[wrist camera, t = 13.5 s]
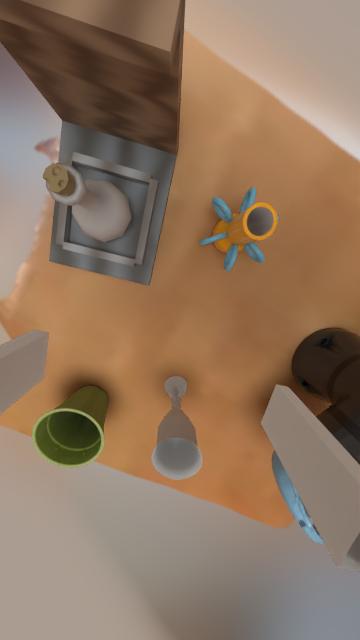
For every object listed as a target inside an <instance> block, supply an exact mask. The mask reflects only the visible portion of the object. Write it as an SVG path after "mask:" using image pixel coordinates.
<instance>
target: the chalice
mask: <svg viewBox="0 0 360 640" xmlns="http://www.w3.org/2000/svg"><path fill="white" fill-rule="evenodd" d="M187 387H188V386H187V382H186V381H185V379H183V378H182V377H180V376H172V377H170V378H168V379H167V380H166V382H165V384H164V389H165V391H166V393H167V394H168V395H169V396H170V397H171V398H172V403H173V404H172V408H173V409H172V410H171V411H169V413H168V414H167V415H166V416H165V417H164V418H163V420H162V422H161V423H160V425H159V427H158V437H157V446H156V447H155V449H154V451H153V453H152V462H153V466H154V467H155V468H156V470H157V471H158V472H159V473H160V474H162V475H163V476H165V477H168V478H170V479H186V478H188V477H191V476H193V475H194V474H195V473H197V472H198V471H199V469H200V467H201V466H202V460H203V458H202V453H201V451H200V450H199V448H198V447H197V440H196V432H195V428H194V426H193V424H192V423H191V421H190V419H189V418H188V416H187V415H186V414H185V413H184V412H183V411H182V410H181V409H180V407H181V406H180V404H179V403H180V401H181V400H180V398H181V397H182V396H183V395H184V393H185V392H186V390H187Z"/></svg>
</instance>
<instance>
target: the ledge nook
mask: <svg viewBox="0 0 360 640" xmlns="http://www.w3.org/2000/svg"><path fill="white" fill-rule="evenodd" d="M184 13H185V0H0V42H1V43H2V44H3V46H4V47H5V48H6V49H7V51H8V52H9V53H10V55H11V56H12V57H13V58H14V60H15V61H16V62H17V63H18V65H19V66H20V67H21V69H22V70H23V71H24V72H25V74H26V75H27V76H28V77H29V79H30V80H31V81H32V83H33V84H34V85H35V86H36V88H37V89H38V90H39V91H40V93H41V94H42V95H43V96H44V98H45V99H46V100H47V101H48V103H49V104H50V105H51V107H52V108H53V109H54V110H55V112H56V113H57V114H58V116H59V117H60V118H61V119H62V131H61V142H60V152H59V163H63V164H70V165H71V166H72V167H74V168H75V169H76V170H77V171H78V172H79V173H80V174H81V175H82V177H83V179H84V181H86V180H87V179H97V180H108V181H112V182H113V183H114V184H115V185H116V186H117V187H118V188H119V189H120V190H121V191H122V192H123V193H124V194H125V195H126V196H127V197H128V201H129V207H130V212H131V218H132V219H131V221H130V223H129V225H128V227H127V229H126V230H125V232H124V234H123V236H121V237H118V238H115V239H112V240H110V241H107V242H102V241H100V240H98V239H95V238H93V237H90V236H88V235H86V234H85V233H84V232H83V231H82V229H81V227H80V226H79V224H78V222H77V221H76V219H75V217H74V216H73V214H72V206H70V205H66V204H63V203H61V202H59V201H56V200H55V206H54V216H53V227H52V238H51V248H50V259H49V261H50V262H55V263H59V264H63V265H67V266H71V267H75V268H79V269H83V270H87V271H92V272H96V273H100V274H104V275H108V276H112V277H116V278H120V279H124V280H129V281H133V282H137V283H141V284H145V285H149V284H150V280H151V275H152V270H153V265H154V261H155V256H156V251H157V246H158V242H159V237H160V232H161V228H162V223H163V218H164V213H165V209H166V204H167V199H168V194H169V190H170V185H171V180H172V175H173V171H174V166H175V161H176V156H177V152H178V144H179V123H180V101H181V79H182V58H183V36H184Z"/></svg>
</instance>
